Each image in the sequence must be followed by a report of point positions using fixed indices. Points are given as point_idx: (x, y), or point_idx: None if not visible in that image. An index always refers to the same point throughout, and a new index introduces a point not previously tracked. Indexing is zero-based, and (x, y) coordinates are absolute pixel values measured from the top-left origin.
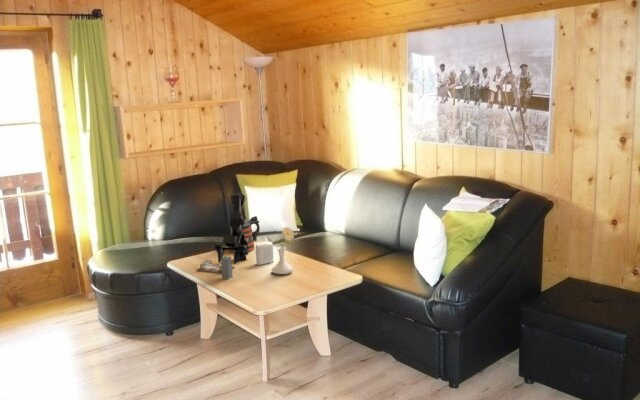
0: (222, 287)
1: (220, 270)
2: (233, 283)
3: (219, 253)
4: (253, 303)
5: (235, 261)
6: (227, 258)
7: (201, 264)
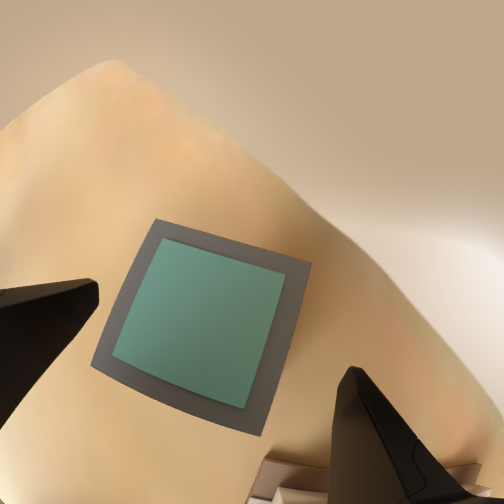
0: (230, 166)
1: (323, 493)
2: None
3: (417, 480)
4: (114, 73)
5: (65, 285)
6: (157, 246)
7: (480, 490)
